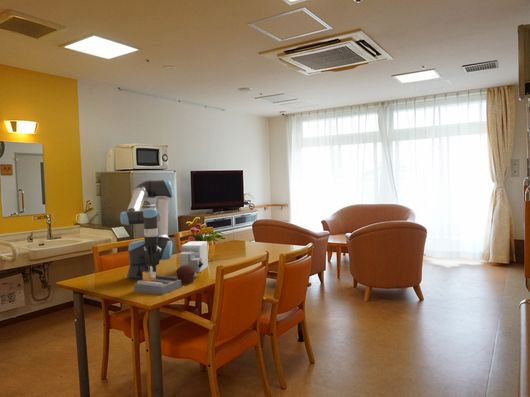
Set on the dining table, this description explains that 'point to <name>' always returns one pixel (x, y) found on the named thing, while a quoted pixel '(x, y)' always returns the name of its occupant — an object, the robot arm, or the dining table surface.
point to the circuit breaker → (190, 260)
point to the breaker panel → (156, 288)
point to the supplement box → (197, 251)
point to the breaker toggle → (147, 276)
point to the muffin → (185, 274)
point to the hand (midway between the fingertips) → (153, 277)
